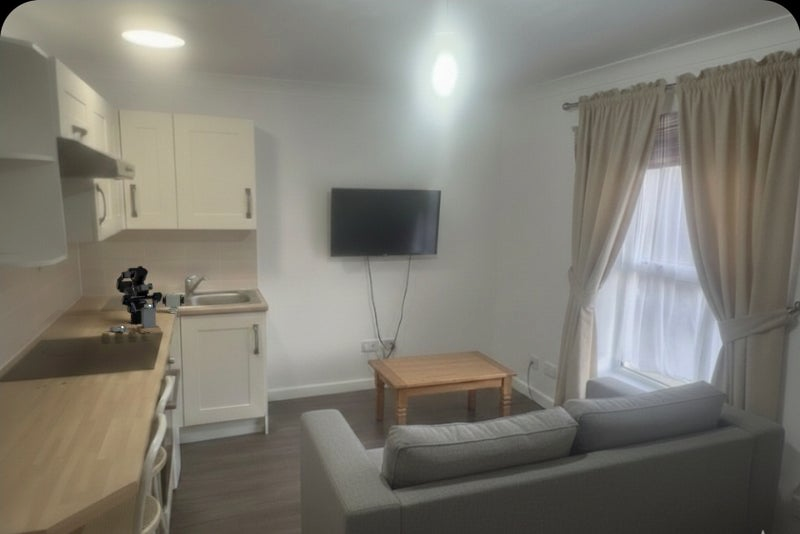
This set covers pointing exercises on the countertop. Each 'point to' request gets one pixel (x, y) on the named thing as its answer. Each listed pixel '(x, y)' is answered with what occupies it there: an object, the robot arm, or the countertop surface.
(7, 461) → the countertop surface
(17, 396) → the countertop surface
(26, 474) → the countertop surface
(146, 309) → the housing
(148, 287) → the robot arm
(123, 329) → the bolt
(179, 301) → the pneumatic valve
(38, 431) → the countertop surface
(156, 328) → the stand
